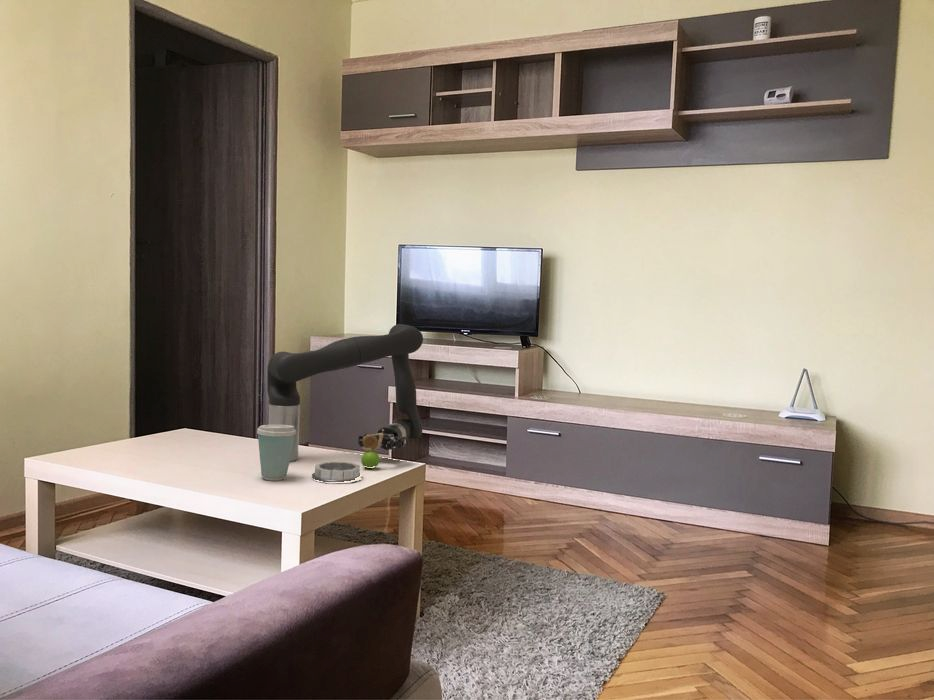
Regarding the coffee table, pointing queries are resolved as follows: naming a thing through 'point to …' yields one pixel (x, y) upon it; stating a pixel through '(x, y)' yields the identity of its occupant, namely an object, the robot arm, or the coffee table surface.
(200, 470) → the coffee table surface
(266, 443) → the disposable coffee cup
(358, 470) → the collar base
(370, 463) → the snail figurine
